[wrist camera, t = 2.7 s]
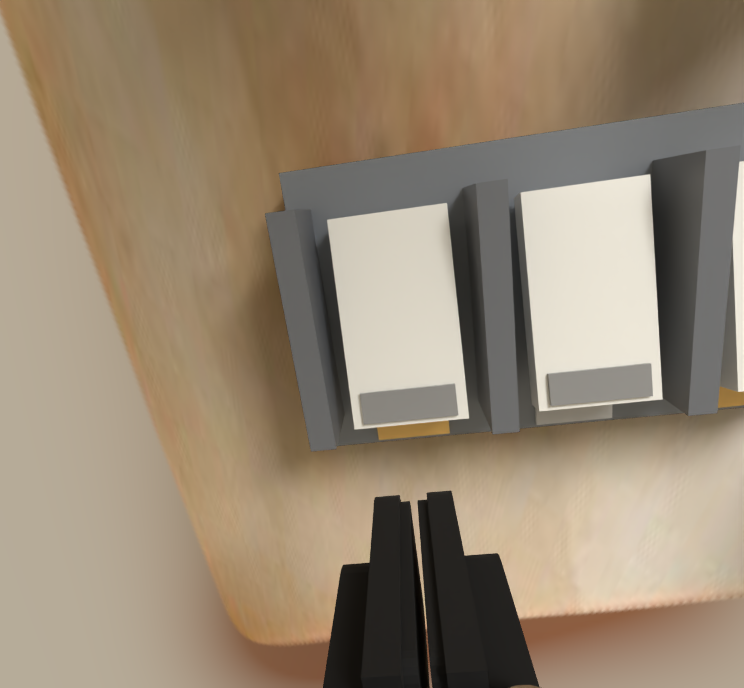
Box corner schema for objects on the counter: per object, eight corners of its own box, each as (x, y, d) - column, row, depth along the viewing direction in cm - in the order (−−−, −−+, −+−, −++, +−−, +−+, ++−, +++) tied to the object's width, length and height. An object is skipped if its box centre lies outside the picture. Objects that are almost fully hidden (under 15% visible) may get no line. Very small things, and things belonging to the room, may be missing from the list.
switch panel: (295, 178, 20) (255, 166, 15) (818, 99, 18) (1009, 50, 13) (336, 418, 24) (317, 484, 18) (783, 373, 22) (921, 431, 16)
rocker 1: (331, 223, 18) (326, 219, 16) (444, 208, 17) (447, 202, 16) (357, 422, 18) (354, 430, 17) (465, 411, 18) (469, 419, 17)
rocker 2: (513, 198, 17) (521, 191, 16) (635, 181, 16) (652, 172, 15) (531, 404, 18) (540, 412, 17) (647, 393, 17) (664, 400, 16)
